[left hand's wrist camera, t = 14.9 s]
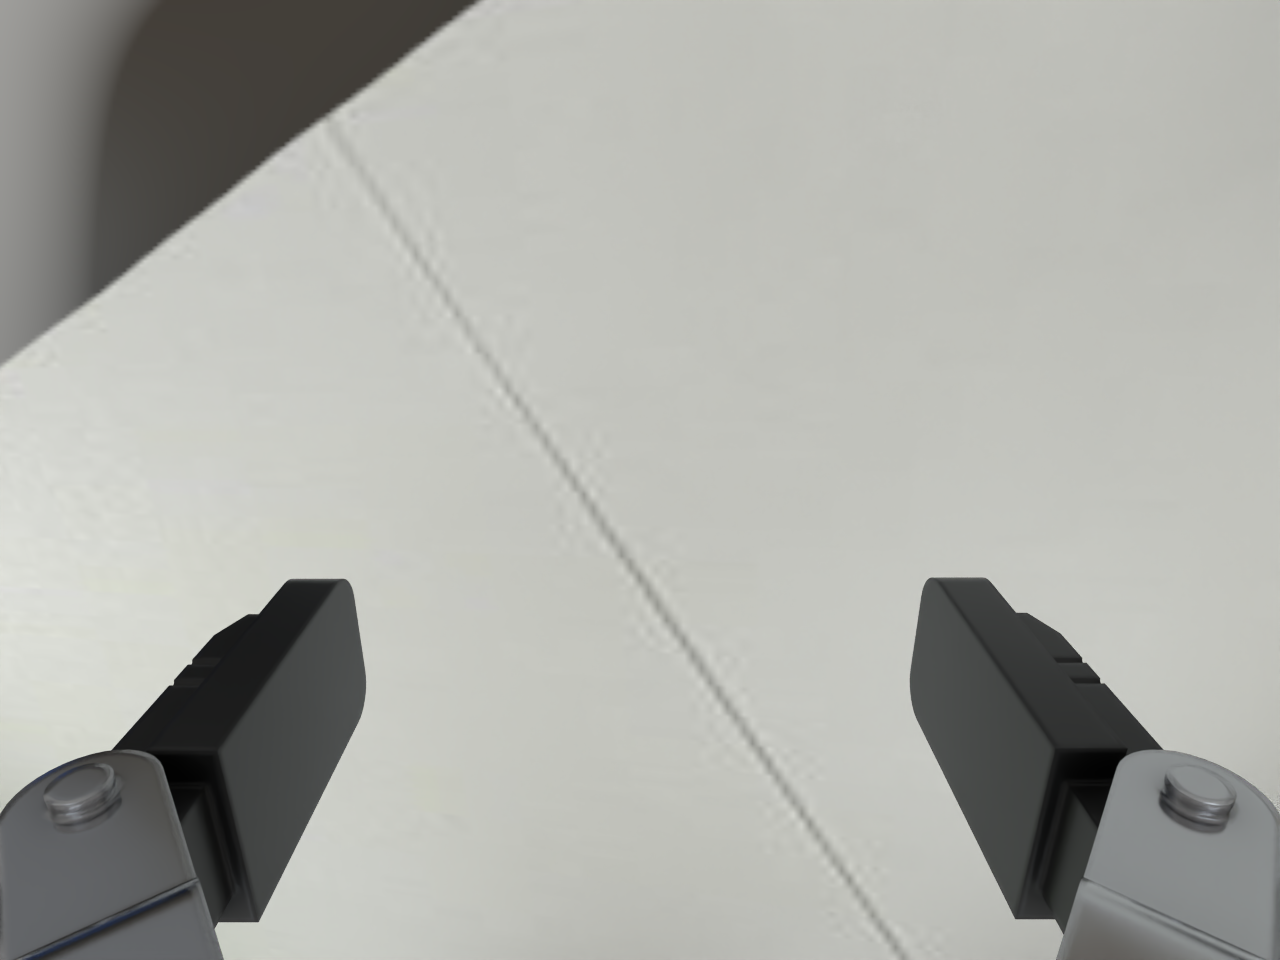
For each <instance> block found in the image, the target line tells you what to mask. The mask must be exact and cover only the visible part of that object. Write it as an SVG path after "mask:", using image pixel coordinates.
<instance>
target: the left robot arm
mask: <svg viewBox="0 0 1280 960" xmlns="http://www.w3.org/2000/svg"><path fill="white" fill-rule="evenodd" d="M365 693H366V674H365V667H364V660H363V653H362V646H361V640H360V633H359V626H358V620H357V613H356V606H355V599H354V594H353V590H352V587H351V585H350V583H349V582H348V581H347V580H346V579H290V580H288V581H287V582H286V583H285V584H284V585H283V586H282V587H281V588H280V590H279V591H278V592H277V593H276V594H275V596H274V597H273V598H272V599H271V600H270V602H269V603H268V604H267V605H266V606H265V608H264V609H263V610H262V611H261V612H260V614H248V615H246V616H245V617H243V618H241V619H240V620H238V621H236V622H235V623H233V624H232V625H230V626H228V627H227V628H225V629H224V630H222V631H220V632H219V633H217V634H215V635H214V636H213V637H212V638H211V639H210V640H209V642H208V643H207V644H206V645H205V646H204V647H203V648H202V649H201V651H200V652H199V653H198V654H197V655H196V656H195V657H194V658H193V660H192V665H187V666H186V667H185V668H184V670H183V671H182V672H181V673H180V674H179V675H178V676H177V677H176V679H175V680H174V685H173V686H168V688H167V689H166V690H165V691H164V692H163V693H162V694H161V695H160V697H159V698H158V699H157V700H156V701H155V702H154V703H153V704H152V705H151V707H150V708H149V709H148V710H147V711H146V712H145V713H144V714H143V716H142V717H141V718H140V719H139V720H138V721H137V722H136V723H135V725H134V726H133V727H132V728H131V729H130V730H129V731H128V732H127V733H126V735H125V736H124V737H123V738H122V739H121V740H120V741H119V742H118V744H117V745H116V746H115V747H114V748H113V749H112V750H111V751H104V752H100V753H95V754H91V755H87V756H84V757H81V758H78V759H75V760H73V761H70V762H67V763H65V764H63V765H61V766H58V767H56V768H54V769H52V770H50V771H48V772H47V773H45V774H43V775H42V776H40V777H38V778H37V779H35V780H34V781H32V782H31V783H30V784H28V785H27V786H25V787H24V788H23V789H22V790H21V791H19V792H18V793H17V794H16V795H15V796H14V797H13V798H12V799H11V800H10V801H9V802H8V804H7V805H6V806H5V808H4V809H3V811H2V812H1V814H0V960H224V959H223V955H222V952H221V949H220V946H219V942H218V939H217V936H216V933H215V927H216V925H217V923H218V922H259V920H260V918H261V916H262V914H263V912H264V910H265V908H266V906H267V904H268V902H269V900H270V898H271V896H272V894H273V892H274V890H275V888H276V886H277V884H278V882H279V880H280V878H281V876H282V874H283V872H284V870H285V868H286V866H287V864H288V862H289V860H290V858H291V856H292V854H293V852H294V850H295V848H296V846H297V844H298V842H299V840H300V838H301V836H302V834H303V832H304V830H305V828H306V826H307V824H308V822H309V820H310V818H311V816H312V814H313V812H314V810H315V808H316V806H317V804H318V802H319V800H320V798H321V796H322V794H323V792H324V790H325V788H326V786H327V784H328V782H329V780H330V778H331V776H332V774H333V772H334V770H335V768H336V766H337V764H338V762H339V760H340V758H341V756H342V754H343V752H344V750H345V748H346V746H347V744H348V742H349V740H350V738H351V736H352V734H353V732H354V730H355V728H356V726H357V724H358V722H359V720H360V717H361V714H362V711H363V707H364V701H365ZM910 693H911V700H912V706H913V710H914V713H915V716H916V718H917V721H918V723H919V725H920V727H921V729H922V731H923V733H924V735H925V737H926V739H927V741H928V743H929V745H930V747H931V749H932V751H933V753H934V755H935V757H936V759H937V761H938V763H939V765H940V767H941V769H942V771H943V773H944V775H945V777H946V779H947V781H948V784H949V786H950V788H951V790H952V792H953V794H954V796H955V798H956V800H957V802H958V804H959V806H960V808H961V810H962V812H963V814H964V816H965V818H966V820H967V822H968V824H969V826H970V828H971V830H972V832H973V834H974V836H975V838H976V840H977V842H978V844H979V846H980V848H981V850H982V852H983V854H984V857H985V859H986V861H987V863H988V865H989V867H990V869H991V871H992V873H993V875H994V877H995V879H996V881H997V883H998V885H999V887H1000V889H1001V891H1002V893H1003V895H1004V897H1005V899H1006V901H1007V903H1008V905H1009V907H1010V909H1011V911H1012V913H1013V915H1014V917H1015V919H1056V921H1057V923H1058V925H1059V927H1060V929H1061V930H1062V932H1063V934H1064V936H1063V939H1062V942H1061V946H1060V949H1059V952H1058V955H1057V959H1056V960H1280V814H1279V812H1278V811H1277V809H1276V808H1275V806H1274V805H1273V804H1272V802H1271V801H1270V800H1269V799H1268V798H1267V797H1266V796H1265V795H1264V794H1263V793H1262V792H1260V791H1259V790H1258V789H1257V788H1256V787H1255V786H1253V785H1252V784H1250V783H1249V782H1248V781H1246V780H1245V779H1243V778H1242V777H1240V776H1238V775H1237V774H1235V773H1233V772H1232V771H1230V770H1228V769H1226V768H1224V767H1222V766H1219V765H1217V764H1215V763H1213V762H1210V761H1207V760H1205V759H1202V758H1199V757H1196V756H1193V755H1189V754H1185V753H1180V752H1176V751H1168V750H1163V749H1162V748H1161V747H1160V746H1159V744H1158V743H1157V742H1156V741H1155V740H1154V739H1153V738H1152V736H1151V735H1150V734H1149V733H1148V732H1147V731H1146V730H1145V729H1144V727H1143V726H1142V725H1141V724H1140V723H1139V722H1138V721H1137V719H1136V718H1135V717H1134V716H1133V715H1132V714H1131V713H1130V712H1129V710H1128V709H1127V708H1126V707H1125V706H1124V705H1123V704H1122V703H1121V701H1120V700H1119V699H1118V698H1117V697H1116V696H1115V695H1114V693H1113V692H1112V691H1111V690H1110V689H1109V688H1108V687H1107V686H1106V684H1101V683H1100V678H1099V677H1098V675H1097V674H1096V673H1095V672H1094V671H1093V670H1092V669H1091V667H1090V666H1089V665H1088V664H1087V663H1083V662H1082V657H1081V656H1080V655H1079V654H1078V653H1077V652H1076V651H1075V649H1074V648H1073V647H1072V646H1071V645H1070V644H1069V643H1068V641H1067V640H1066V639H1065V638H1064V637H1063V636H1062V635H1061V634H1060V633H1059V632H1057V631H1055V630H1054V629H1052V628H1051V627H1049V626H1047V625H1046V624H1044V623H1043V622H1041V621H1039V620H1038V619H1036V618H1034V617H1033V616H1031V615H1030V614H1028V613H1016V612H1015V611H1014V610H1013V609H1012V607H1011V606H1010V605H1009V604H1008V603H1007V601H1006V600H1005V599H1004V598H1003V597H1002V595H1001V594H1000V593H999V592H998V590H997V589H996V588H995V587H994V586H993V584H992V583H991V582H990V581H989V580H988V579H986V578H929V579H928V580H927V581H926V583H925V585H924V588H923V591H922V596H921V603H920V610H919V616H918V623H917V630H916V637H915V644H914V651H913V657H912V664H911V672H910Z"/></svg>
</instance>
